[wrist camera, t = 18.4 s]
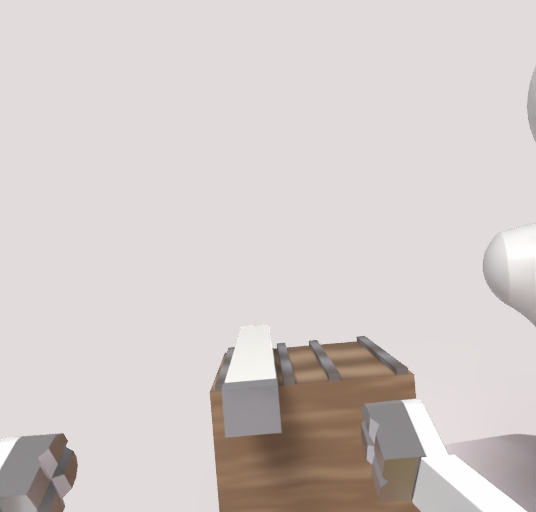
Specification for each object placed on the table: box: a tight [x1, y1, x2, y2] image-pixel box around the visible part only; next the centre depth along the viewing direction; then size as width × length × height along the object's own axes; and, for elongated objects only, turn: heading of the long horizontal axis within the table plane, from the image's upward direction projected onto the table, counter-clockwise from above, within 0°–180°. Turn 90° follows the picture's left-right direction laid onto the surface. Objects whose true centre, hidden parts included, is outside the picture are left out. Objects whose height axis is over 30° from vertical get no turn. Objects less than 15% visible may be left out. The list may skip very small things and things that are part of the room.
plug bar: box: [221, 324, 282, 438], centre depth 36 cm, size 23×4×3 cm, turn 1°
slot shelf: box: [210, 336, 421, 512], centre depth 40 cm, size 14×18×27 cm
